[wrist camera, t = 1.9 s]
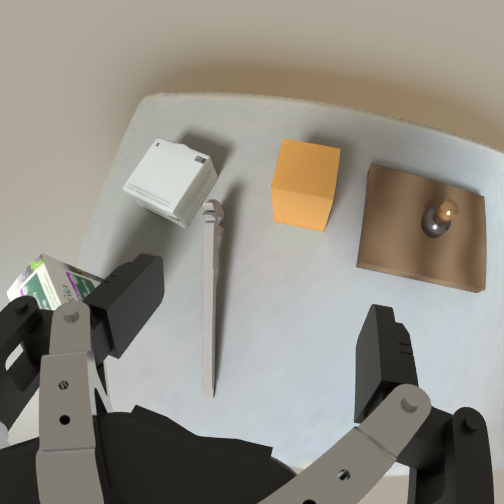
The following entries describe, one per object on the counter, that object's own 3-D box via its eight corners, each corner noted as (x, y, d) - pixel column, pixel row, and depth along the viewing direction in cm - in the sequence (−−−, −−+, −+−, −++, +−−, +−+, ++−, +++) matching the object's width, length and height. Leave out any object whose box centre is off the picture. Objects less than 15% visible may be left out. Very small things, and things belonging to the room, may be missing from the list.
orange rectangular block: (331, 187, 36) (340, 149, 28) (323, 231, 34) (333, 200, 27) (284, 178, 37) (283, 138, 29) (274, 221, 35) (270, 187, 28)
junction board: (477, 203, 33) (484, 196, 31) (476, 292, 30) (485, 289, 28) (367, 172, 36) (371, 164, 34) (356, 267, 33) (360, 262, 31)
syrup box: (146, 324, 34) (67, 306, 20) (111, 353, 33) (24, 349, 19) (121, 285, 35) (41, 249, 21) (88, 314, 35) (3, 292, 21)
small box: (138, 206, 38) (119, 188, 33) (171, 157, 40) (158, 134, 35) (186, 231, 36) (172, 214, 32) (220, 177, 38) (211, 154, 33)
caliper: (216, 214, 37) (203, 189, 31) (225, 214, 37) (214, 189, 31) (205, 396, 31) (187, 406, 25) (215, 397, 31) (199, 408, 25)
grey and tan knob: (443, 216, 31) (462, 197, 27) (443, 240, 31) (463, 224, 26) (421, 210, 32) (438, 190, 27) (420, 234, 31) (438, 217, 26)
